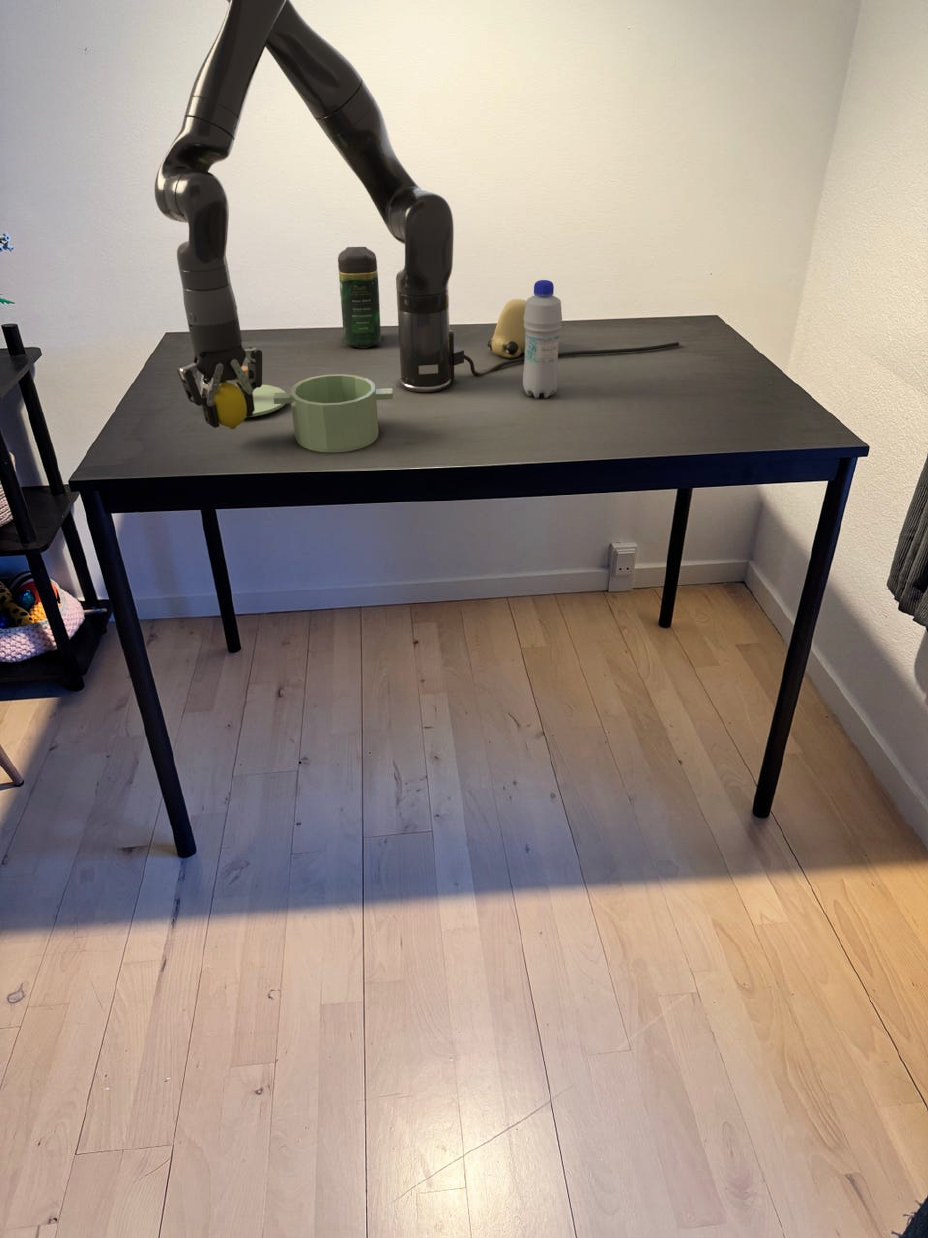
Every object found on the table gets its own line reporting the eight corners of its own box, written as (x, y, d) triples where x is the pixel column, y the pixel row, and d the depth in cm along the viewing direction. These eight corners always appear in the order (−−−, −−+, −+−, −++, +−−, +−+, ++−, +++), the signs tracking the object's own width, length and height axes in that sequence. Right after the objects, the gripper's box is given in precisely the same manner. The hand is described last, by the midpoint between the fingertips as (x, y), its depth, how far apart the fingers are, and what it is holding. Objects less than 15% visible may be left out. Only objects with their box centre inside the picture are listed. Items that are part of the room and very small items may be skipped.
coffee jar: (382, 348, 184) (377, 253, 173) (344, 350, 183) (336, 255, 172) (380, 334, 191) (375, 242, 181) (343, 335, 191) (336, 243, 180)
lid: (211, 391, 164) (204, 356, 160) (290, 388, 165) (286, 353, 161) (198, 422, 152) (191, 384, 148) (284, 419, 153) (279, 381, 149)
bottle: (533, 403, 158) (537, 287, 147) (514, 390, 163) (517, 278, 152) (565, 396, 161) (572, 282, 149) (545, 384, 166) (550, 273, 154)
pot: (282, 421, 152) (276, 376, 148) (393, 417, 154) (391, 371, 149) (276, 455, 141) (269, 407, 136) (396, 449, 142) (393, 402, 138)
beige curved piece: (499, 364, 186) (469, 338, 177) (527, 313, 185) (499, 284, 177) (532, 375, 179) (502, 348, 171) (561, 322, 178) (533, 292, 170)
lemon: (242, 437, 142) (233, 388, 137) (210, 434, 143) (200, 387, 138) (255, 423, 146) (247, 376, 142) (224, 421, 147) (215, 374, 143)
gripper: (240, 300, 140) (257, 402, 150) (156, 320, 132) (179, 426, 142) (266, 310, 136) (281, 414, 145) (180, 331, 128) (203, 440, 138)
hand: (231, 420), depth 144 cm, fingers closed on lemon, 5 cm apart
